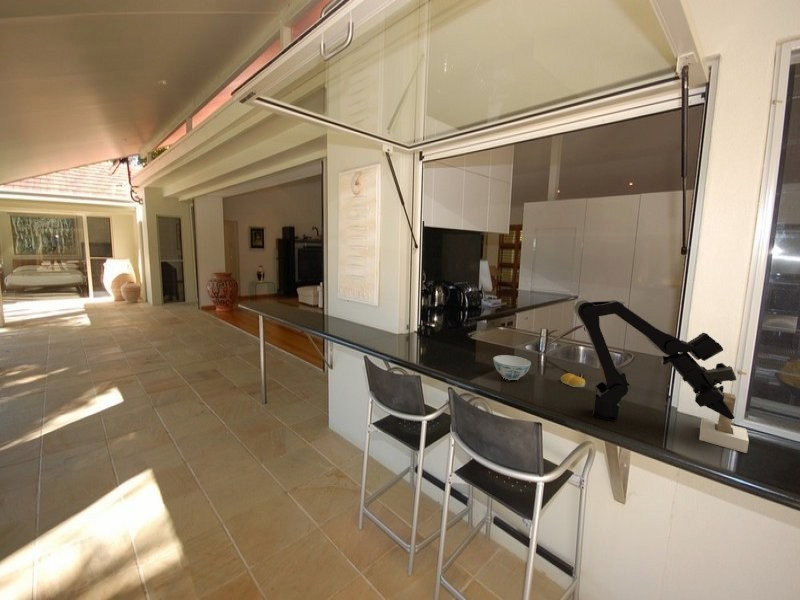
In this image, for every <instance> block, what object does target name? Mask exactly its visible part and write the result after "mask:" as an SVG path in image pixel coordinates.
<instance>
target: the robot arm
mask: <svg viewBox="0 0 800 600" xmlns="http://www.w3.org/2000/svg"><path fill="white" fill-rule="evenodd" d="M573 310H574V313H575V315H576V317H577V318H578V320H579V321H580V323H581V324H582V326H583V327H584V329H585V330H586V332H587V335H588V338H589V340H590V343H591V346H592V349H593V350H594V354H595V356H596V359H597V361H598V364H599V366H600V377H601V382H599V383H597V384H595V385H594V391H595V393H596V394H595V398H594V408H593V412H592V417H594V418H599V419H602V420H606V421H612V422H616V421H617V419H619V412H620V404H619V403H621V402H620V401H622V399H623V398H624V397H626V395H627V394H628V392H629V387H630V384H629V382H628V380H627V377H626V376H627V375H626V373H625V372H624V371H623V370H621V368H619V367H618V368H616V366H615V362H614V360H613V358H612V356H611V352H610V351H609V348H608V345H607V343H606V339H605V337H604V335H603V333H602V329H601V326H600V317H603V316H604V317H605V316H608V315H615V316H617V317H618V318H620V319H621V320H622V321H623V322H625V323H627V324H628V325H629V326H630V327H632V328H634V329H635V330H636V331H638V332H639V333H640V334H642V335H643V337H645V338H646V340H647V341H648V342H649V343H650V344H651V345H652V346H653V347H654V348H655V349H656V350H658V351H660V352H662V354H663V353H664V355H661V358H660V359H661V361H660V364H661V365H663V366H666V365H667V364H670V365H671V367H673V369H674V370H676V372H677V373H678V374H679V375H680V376H681V378H682V381H683V382H686V383H687V384H688V385H689V386H690V387H691V388H692V392H693V393H694V394H695V399H694V402H695V403H696V404H697V405H698V406H699V407H700V408H702V407H706V408H708V409H709V410H712V411H714V412H715V413H717V414H719V415H720V414H721V415H723V416H725V417H727V418H729V419H731V420H732V421H733V419H735V418H736V417H735V416H734V411H733V414H732V413H731V411H730V410H729V408H728V407H727V405H726V404H725V402H724V401H723V400H724V393H723V392H724V385H722V384H723V382H734V381H737V376H736V373H735V371H734V370H733V367H732V366H730V365H728V366H727V365H726V364H725V363H723V362H720V363H716V365H715V368H714V367H713V368H712V367H711V368H712V369H707V368H706V366H702V365H700V363H698V362H697V361H699V360H701V361H702V362H706V361H707V360H708V359H711V358H713V357H714V356H716V355H718V354H720V353H722V352H724V347H722V345H721V344H720V343H719V342H717V341H716V340H715V339H714V338H713V337H712V336H710V335H709V334H708V333H706V332H702V333H700V334H698V335H697V336H696V337H694V338H693V339H691V340H689V341H684V340H682V339H681V340H680V339H679V338H678V337H676V336H673V334H669V333H668V332H666V331H663V330H662V329H660V328H657V327H655V326H654V325H653V324H651V323H650V322H648V320H647V321H646V320H645V319H644V318H642V317H641V316H639V314H637V313H635V312H634V311H632V310H631V309H630V308H629V307H627V306H625V305H624V304H623V302H621V301H619V300H616V299H612V300H607V301H588V300H583V299H582V300H579V301H578V302H576V303H575V305H574V307H573ZM665 355H666V356H665ZM718 384H719V385H720V386H717V385H718ZM628 386H629V387H628Z"/></svg>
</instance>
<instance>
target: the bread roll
mask: <svg viewBox="0 0 800 600" xmlns="http://www.w3.org/2000/svg"><path fill="white" fill-rule="evenodd" d="M560 381H561V383H563V384H564V385H567V386H570V387H573V388H584V387H585V386H586V380H585V378H583V377H580V376H578V375H575V374H573V373H569V372H568V373H565V374H562V376H561V377H560Z"/></svg>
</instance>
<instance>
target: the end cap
mask: <svg viewBox="0 0 800 600" xmlns="http://www.w3.org/2000/svg"><path fill="white" fill-rule="evenodd" d="M717 426H718V421H716V420H714V419H708V418H705V417H701V421H700V427H699V441H703V442H706V443H709V444H713V445H716V446H720V447H723V448H727V449H730V450H734V451H738V452H741V453H744V454H747V453H748V448H749V442H750V441H749V435H748V431H747V429H746V428H745V427H740V426H736V425H732V424H731V428H730V434H729V433H725V432H722V431H718V430H717Z"/></svg>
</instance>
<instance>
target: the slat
mask: <svg viewBox="0 0 800 600" xmlns="http://www.w3.org/2000/svg"><path fill="white" fill-rule="evenodd" d="M723 393H724V400H723V401H724V402H725V404H726V405H727V407H728V408H729V410H730V411H731V413H732V414H733V415H734V413H733V412H734V411H735V407H736V406H735V404H736V399H737V398H736V394H735V393H731V392H724V391H723ZM732 421H733V419H732V420H731V419H729V418H727V417H725V416H723V415H721V414H719V415H718V421H717V422H718V426H717V430H718V431H722V432H725V433H729V434H730V428H731V425H732Z"/></svg>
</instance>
